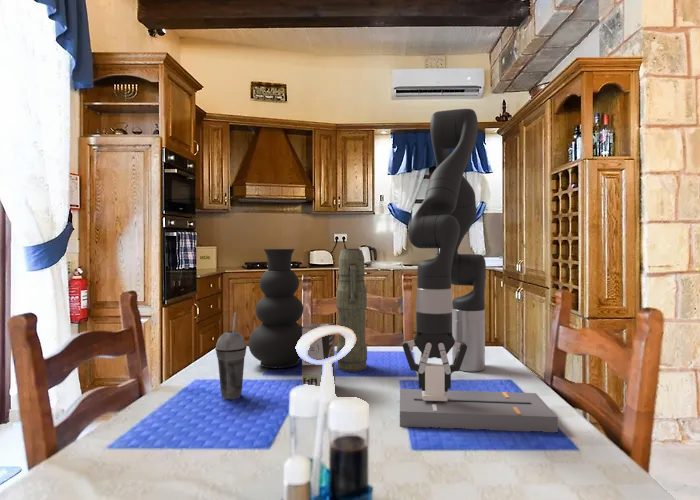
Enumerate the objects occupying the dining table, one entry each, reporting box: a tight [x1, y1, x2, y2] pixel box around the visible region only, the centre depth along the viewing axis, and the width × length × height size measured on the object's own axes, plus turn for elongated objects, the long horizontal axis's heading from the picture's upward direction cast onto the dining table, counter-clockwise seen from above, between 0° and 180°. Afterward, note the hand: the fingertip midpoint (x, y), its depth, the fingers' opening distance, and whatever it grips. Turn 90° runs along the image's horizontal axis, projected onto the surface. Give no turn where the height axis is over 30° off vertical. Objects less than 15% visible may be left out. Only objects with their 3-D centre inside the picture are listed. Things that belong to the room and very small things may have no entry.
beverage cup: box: [215, 312, 248, 400], centre depth 108 cm, size 7×7×20 cm
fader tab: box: [422, 362, 447, 401], centre depth 95 cm, size 4×5×7 cm
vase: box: [248, 248, 305, 369], centre depth 136 cm, size 18×18×35 cm
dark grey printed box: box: [301, 322, 336, 386], centre depth 112 cm, size 9×6×16 cm
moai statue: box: [336, 248, 368, 373], centre depth 132 cm, size 9×12×35 cm
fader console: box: [399, 388, 559, 433], centre depth 95 cm, size 14×30×3 cm, turn 84°
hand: (434, 389), depth 95 cm, fingers closed on fader tab, 4 cm apart
